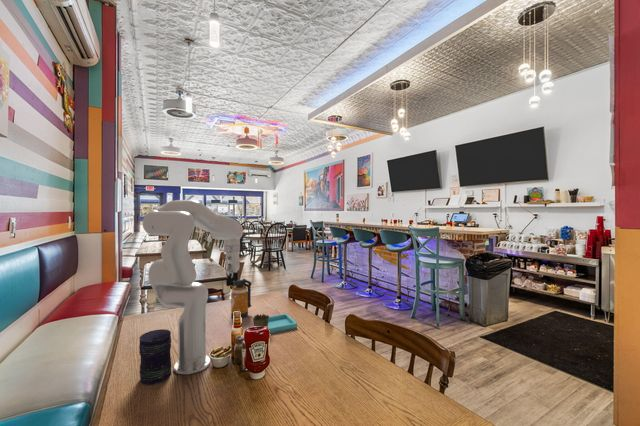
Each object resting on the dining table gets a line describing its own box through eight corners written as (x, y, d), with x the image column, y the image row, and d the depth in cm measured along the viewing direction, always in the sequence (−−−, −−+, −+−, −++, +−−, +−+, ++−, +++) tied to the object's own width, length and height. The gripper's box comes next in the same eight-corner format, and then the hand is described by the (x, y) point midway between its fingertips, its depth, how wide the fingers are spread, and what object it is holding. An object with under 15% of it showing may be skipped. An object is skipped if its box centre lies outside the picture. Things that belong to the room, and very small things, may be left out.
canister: (230, 314, 165) (229, 278, 164) (250, 311, 169) (249, 276, 169) (232, 319, 157) (232, 282, 156) (253, 316, 161) (253, 280, 161)
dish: (297, 328, 145) (297, 323, 145) (267, 334, 138) (267, 329, 138) (286, 318, 159) (286, 313, 158) (258, 323, 152) (258, 318, 152)
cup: (265, 337, 135) (265, 320, 135) (250, 336, 136) (250, 319, 136) (271, 330, 142) (271, 314, 142) (257, 329, 144) (256, 313, 144)
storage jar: (143, 372, 107) (142, 331, 106) (173, 367, 110) (172, 327, 110) (136, 388, 97) (136, 343, 97) (169, 381, 101) (169, 338, 101)
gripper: (236, 250, 135) (236, 287, 135) (243, 245, 152) (243, 278, 152) (219, 251, 134) (219, 288, 135) (228, 246, 151) (228, 278, 152)
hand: (232, 283), depth 143 cm, fingers open, 9 cm apart
